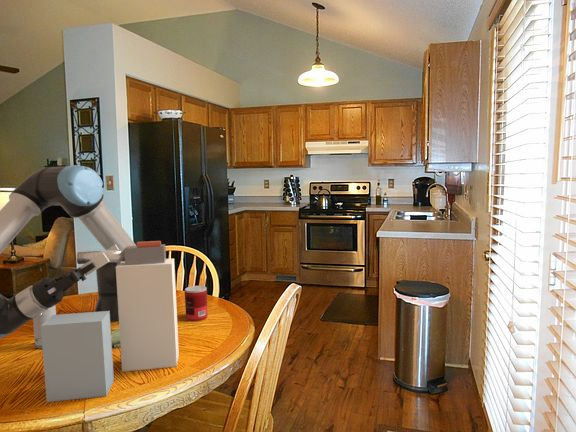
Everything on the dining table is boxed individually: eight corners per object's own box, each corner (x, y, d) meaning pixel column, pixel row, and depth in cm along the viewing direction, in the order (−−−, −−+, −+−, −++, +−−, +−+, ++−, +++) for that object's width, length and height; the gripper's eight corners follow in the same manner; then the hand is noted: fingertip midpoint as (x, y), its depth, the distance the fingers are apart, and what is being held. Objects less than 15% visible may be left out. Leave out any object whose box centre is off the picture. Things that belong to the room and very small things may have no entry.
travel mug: (34, 351, 132) (29, 285, 130) (35, 344, 137) (30, 281, 136) (58, 347, 134) (53, 282, 133) (58, 340, 140) (53, 278, 138)
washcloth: (109, 336, 144) (109, 327, 143) (165, 328, 150) (164, 319, 149) (108, 351, 131) (107, 340, 131) (169, 341, 138) (168, 331, 137)
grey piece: (81, 264, 118) (80, 243, 117) (166, 259, 121) (165, 239, 121) (76, 267, 113) (75, 246, 113) (164, 262, 117) (163, 242, 117)
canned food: (210, 314, 163) (209, 285, 162) (204, 321, 155) (202, 291, 154) (190, 314, 163) (188, 285, 162) (183, 321, 155) (181, 291, 155)
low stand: (58, 385, 109) (53, 314, 107) (113, 380, 111) (109, 310, 109) (46, 402, 101) (40, 325, 99) (106, 395, 103) (101, 321, 101)
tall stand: (127, 359, 124) (121, 261, 121) (178, 354, 126) (174, 258, 124) (122, 371, 116) (115, 267, 113) (176, 366, 118) (171, 263, 116)
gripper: (65, 295, 127) (129, 256, 129) (30, 323, 103) (109, 274, 105) (49, 274, 126) (114, 234, 128) (10, 297, 102) (91, 248, 104)
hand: (112, 252), depth 117 cm, fingers open, 13 cm apart
